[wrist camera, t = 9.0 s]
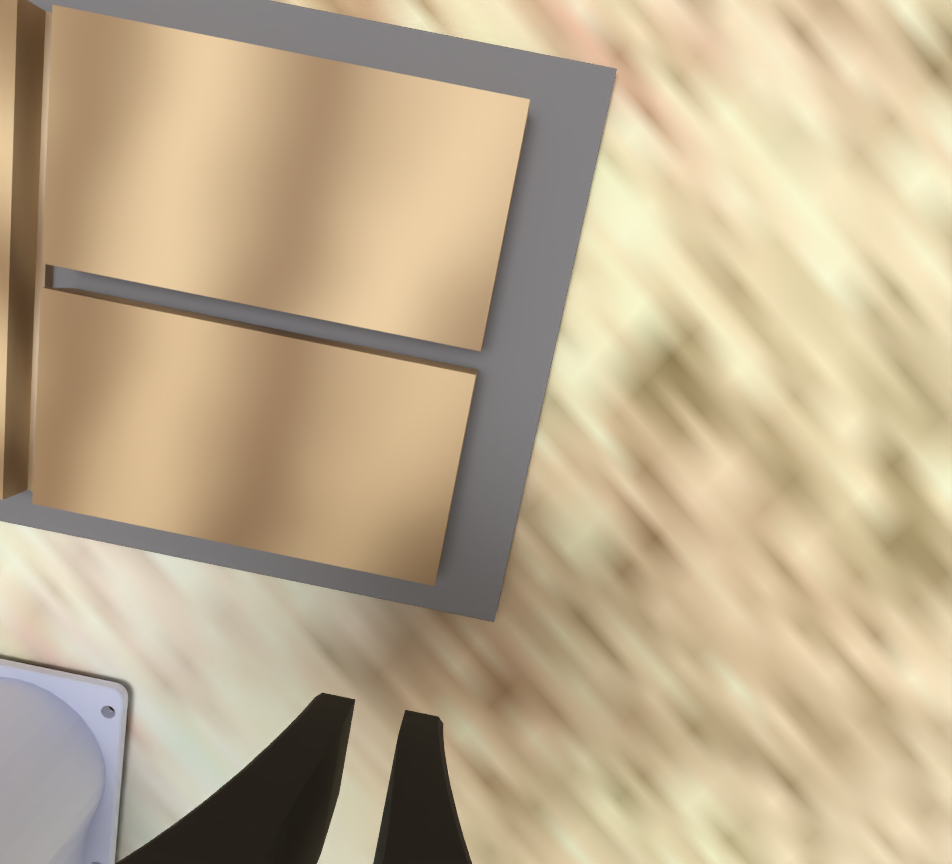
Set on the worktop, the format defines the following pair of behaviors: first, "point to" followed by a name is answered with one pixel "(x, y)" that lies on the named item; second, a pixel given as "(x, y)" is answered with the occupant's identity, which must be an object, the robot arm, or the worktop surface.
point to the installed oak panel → (21, 230)
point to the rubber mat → (499, 362)
